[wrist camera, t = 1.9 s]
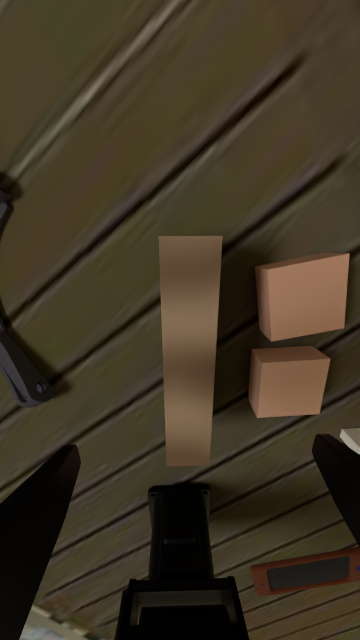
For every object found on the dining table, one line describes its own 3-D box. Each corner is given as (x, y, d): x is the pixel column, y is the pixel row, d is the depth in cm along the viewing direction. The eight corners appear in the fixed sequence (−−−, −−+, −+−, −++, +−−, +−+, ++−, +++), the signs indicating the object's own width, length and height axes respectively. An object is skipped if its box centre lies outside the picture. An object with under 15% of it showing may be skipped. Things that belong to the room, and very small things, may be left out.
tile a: (301, 393, 19) (319, 413, 17) (247, 396, 19) (257, 417, 17) (309, 343, 18) (330, 359, 15) (250, 347, 18) (261, 363, 15)
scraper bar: (200, 412, 19) (209, 465, 15) (168, 413, 19) (166, 466, 15) (206, 239, 15) (222, 235, 10) (163, 240, 15) (158, 236, 10)
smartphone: (366, 581, 29) (257, 598, 30) (360, 570, 30) (255, 588, 30) (368, 552, 26) (251, 571, 27) (362, 541, 27) (248, 561, 28)
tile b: (320, 316, 17) (344, 328, 14) (257, 328, 17) (271, 341, 15) (322, 252, 15) (349, 253, 13) (253, 266, 15) (267, 269, 13)
